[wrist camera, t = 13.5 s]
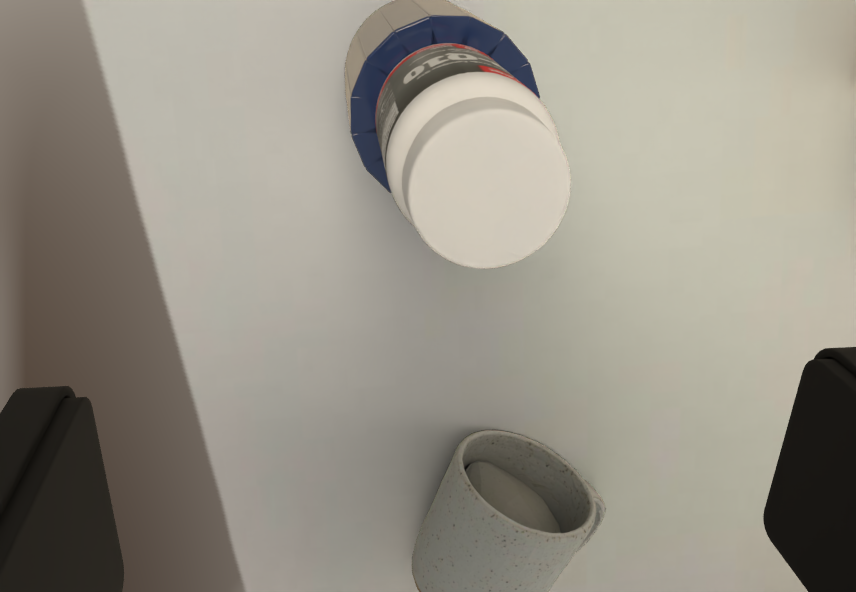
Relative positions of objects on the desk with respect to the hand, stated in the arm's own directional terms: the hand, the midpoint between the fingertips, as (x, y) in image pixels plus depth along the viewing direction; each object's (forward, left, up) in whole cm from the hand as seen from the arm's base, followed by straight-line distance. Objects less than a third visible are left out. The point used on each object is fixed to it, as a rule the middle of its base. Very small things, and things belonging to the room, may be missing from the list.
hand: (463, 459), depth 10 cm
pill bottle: (+1, +2, -18) cm, 18 cm away
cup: (+1, +2, -26) cm, 26 cm away
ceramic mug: (+21, -10, -26) cm, 35 cm away
